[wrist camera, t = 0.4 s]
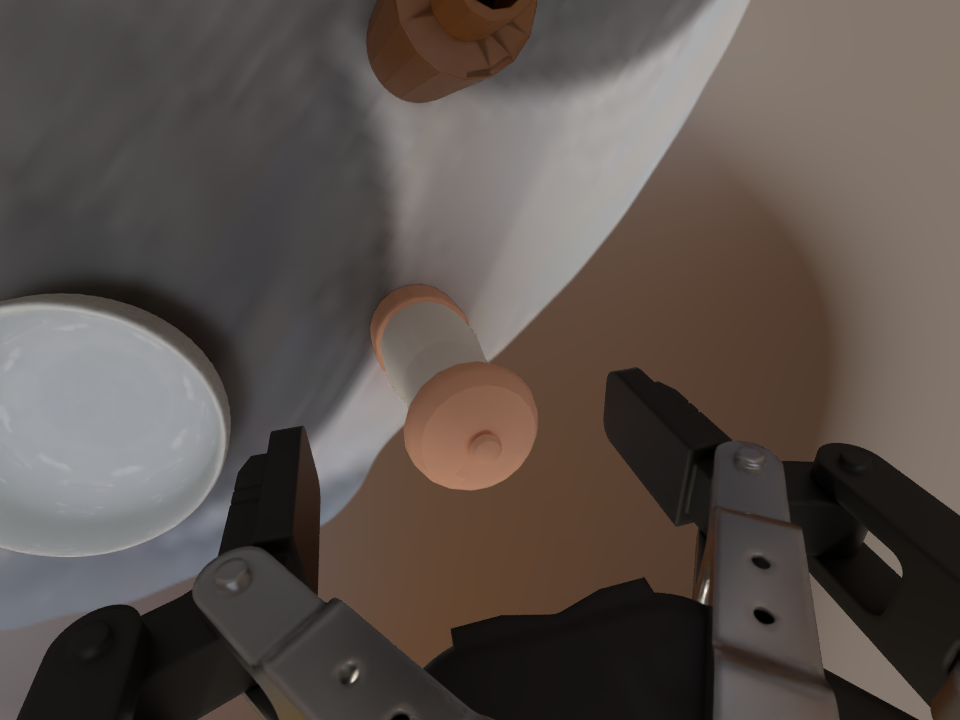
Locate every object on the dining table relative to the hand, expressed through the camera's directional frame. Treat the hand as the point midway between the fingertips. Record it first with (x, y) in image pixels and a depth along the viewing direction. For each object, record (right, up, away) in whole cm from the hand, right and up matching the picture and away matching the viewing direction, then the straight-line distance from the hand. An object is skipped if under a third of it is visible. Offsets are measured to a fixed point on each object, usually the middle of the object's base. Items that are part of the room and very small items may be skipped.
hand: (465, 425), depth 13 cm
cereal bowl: (-26, 0, +23) cm, 34 cm away
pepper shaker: (-5, +4, +28) cm, 28 cm away
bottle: (-4, +22, +20) cm, 31 cm away
